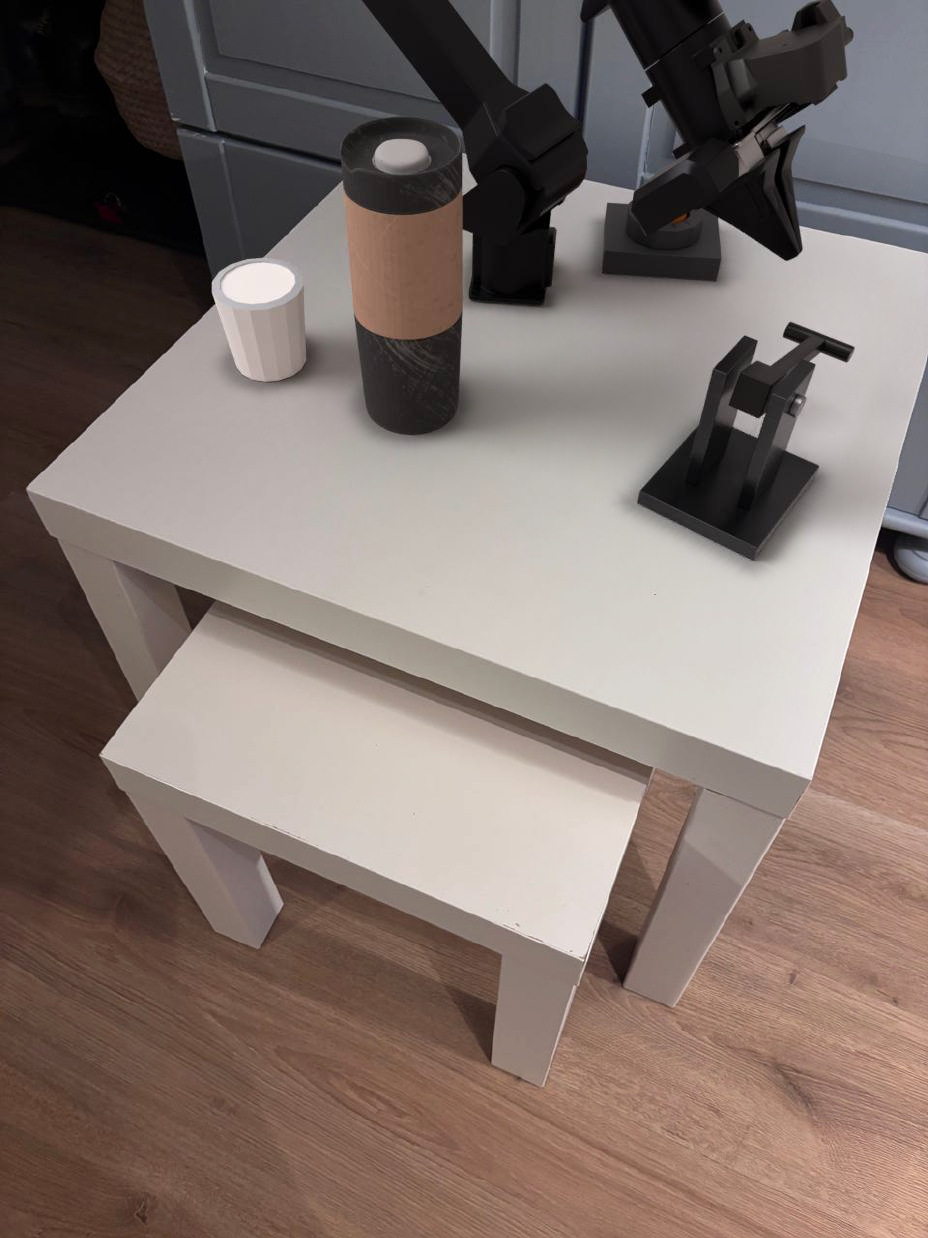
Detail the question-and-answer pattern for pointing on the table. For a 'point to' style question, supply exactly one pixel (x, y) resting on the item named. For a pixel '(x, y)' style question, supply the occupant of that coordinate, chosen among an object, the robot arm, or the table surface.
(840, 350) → the switch lever
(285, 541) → the table surface
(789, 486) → the switch bracket
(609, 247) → the control block
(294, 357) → the shot glass
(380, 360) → the travel mug
